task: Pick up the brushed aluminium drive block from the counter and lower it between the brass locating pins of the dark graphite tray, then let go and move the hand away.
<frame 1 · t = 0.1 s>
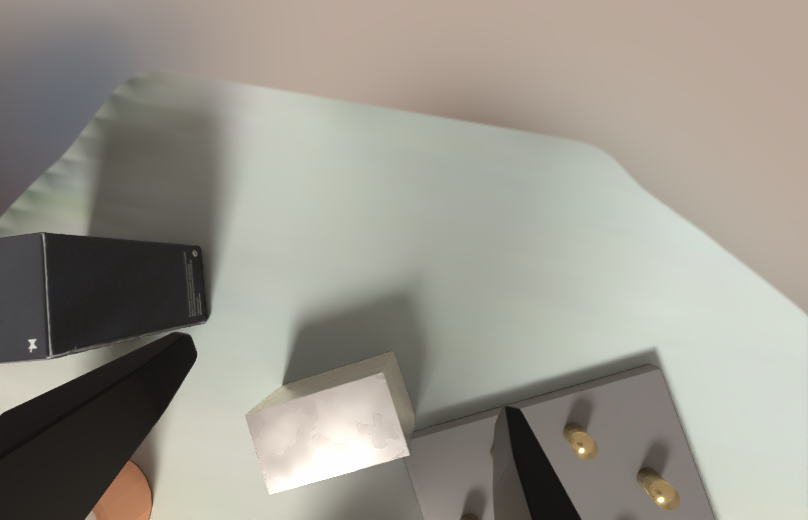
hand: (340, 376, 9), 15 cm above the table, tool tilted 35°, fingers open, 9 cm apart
pepper shaker: (112, 496, 26), on the table
pin tray: (551, 491, 23), on the table
drive block: (347, 399, 25), on the table
small box: (147, 288, 26), on the table
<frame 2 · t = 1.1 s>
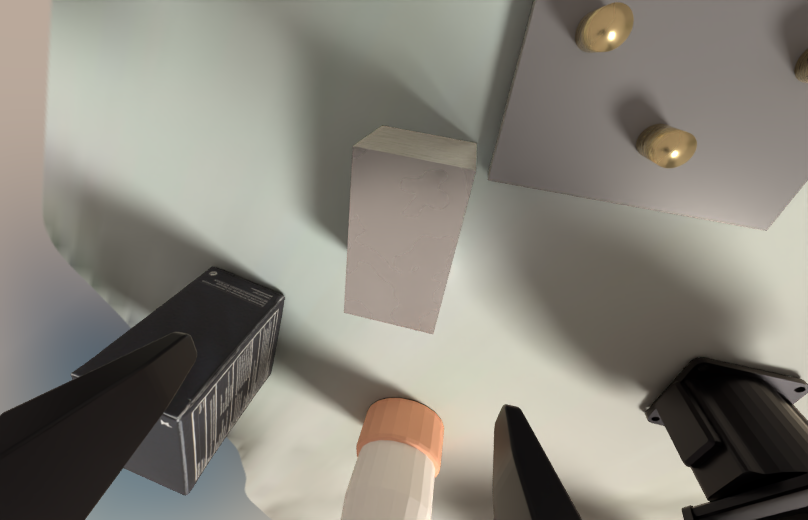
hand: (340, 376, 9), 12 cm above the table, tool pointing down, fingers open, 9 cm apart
pepper shaker: (405, 420, 31), on the table
drive block: (415, 211, 20), on the table
small box: (245, 321, 28), on the table
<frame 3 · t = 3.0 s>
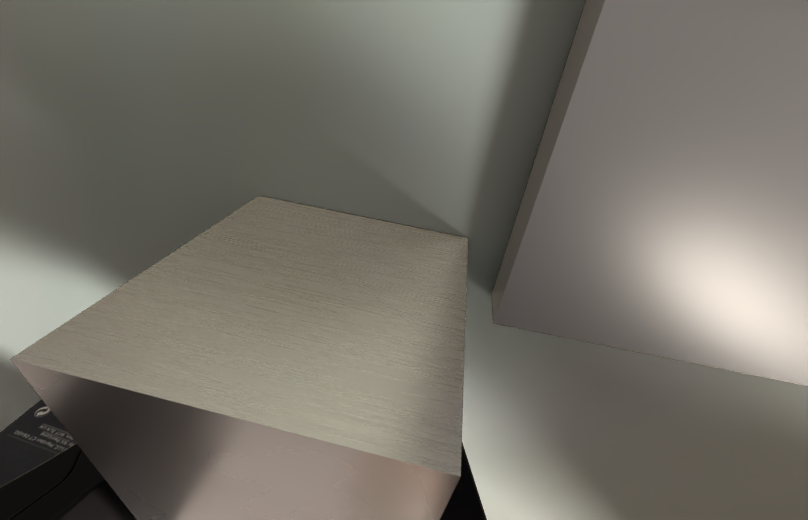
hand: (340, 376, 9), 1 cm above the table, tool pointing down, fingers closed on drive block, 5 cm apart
drive block: (351, 348, 10), on the table, touching gripper
small box: (127, 455, 19), on the table
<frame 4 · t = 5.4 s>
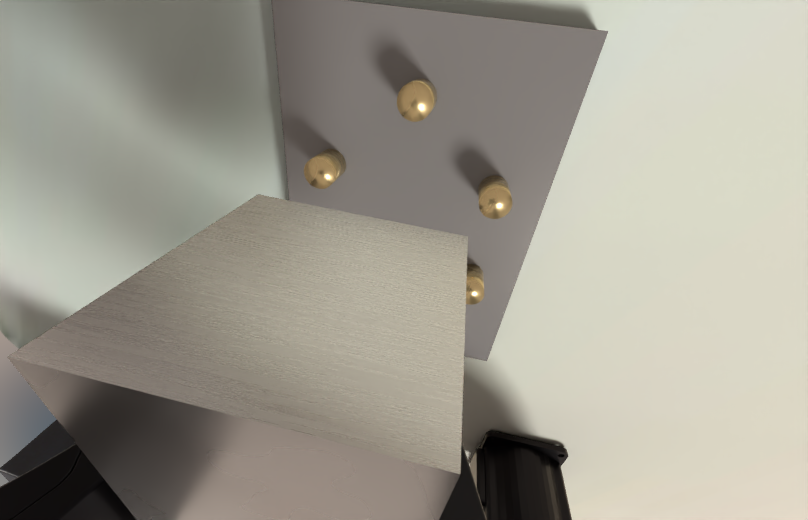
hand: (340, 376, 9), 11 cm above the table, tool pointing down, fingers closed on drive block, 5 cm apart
pin tray: (408, 214, 18), on the table
drive block: (351, 348, 10), point 10 cm above the table, touching gripper
small box: (164, 393, 34), on the table
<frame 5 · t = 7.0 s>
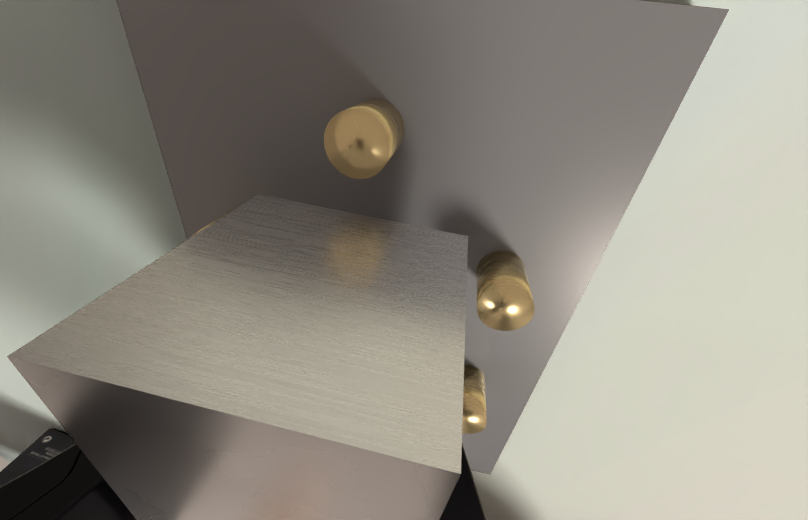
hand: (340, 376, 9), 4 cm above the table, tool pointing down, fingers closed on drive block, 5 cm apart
pin tray: (374, 290, 12), on the table
drive block: (351, 347, 10), point 3 cm above the table, touching gripper
small box: (101, 464, 28), on the table
when the fingers open (4 cm above the table, at t = 8.1 s): drive block drops 2 cm, resting on pin tray.
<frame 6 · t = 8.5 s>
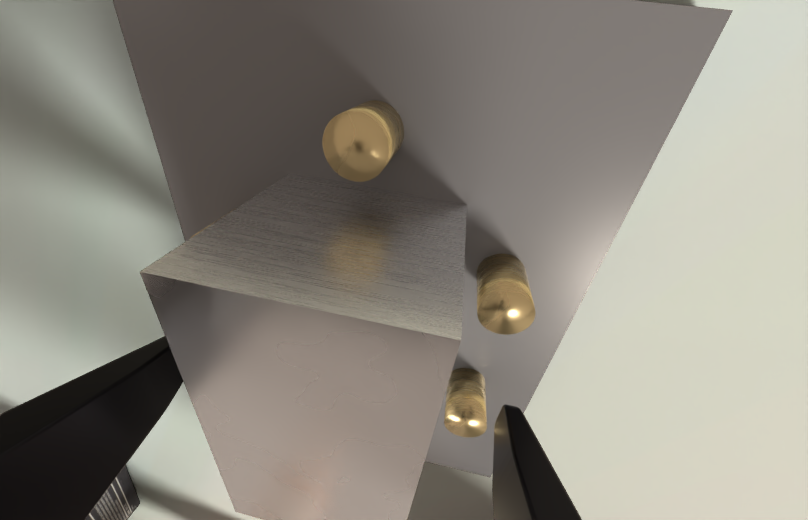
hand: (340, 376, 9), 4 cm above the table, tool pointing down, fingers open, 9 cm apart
pin tray: (374, 293, 12), on the table
drive block: (367, 310, 11), point 1 cm above the table, touching pin tray
small box: (100, 465, 28), on the table
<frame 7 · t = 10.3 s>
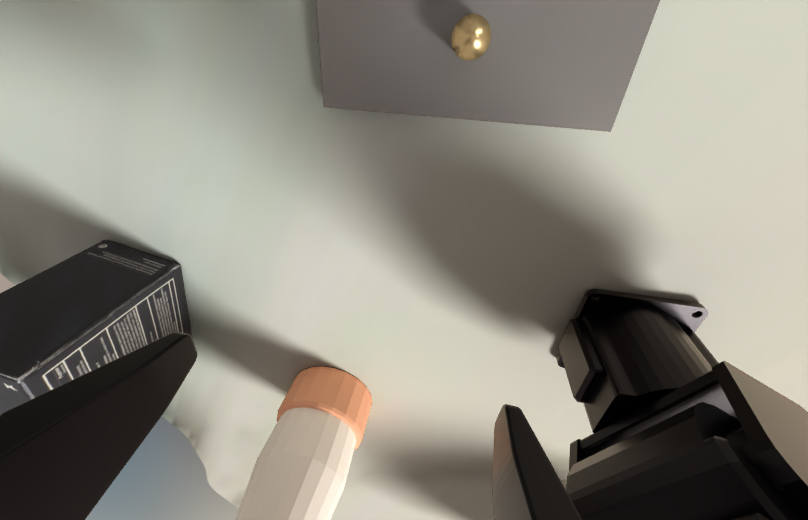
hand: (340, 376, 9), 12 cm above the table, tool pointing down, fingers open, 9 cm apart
pepper shaker: (333, 391, 30), on the table
small box: (154, 298, 27), on the table
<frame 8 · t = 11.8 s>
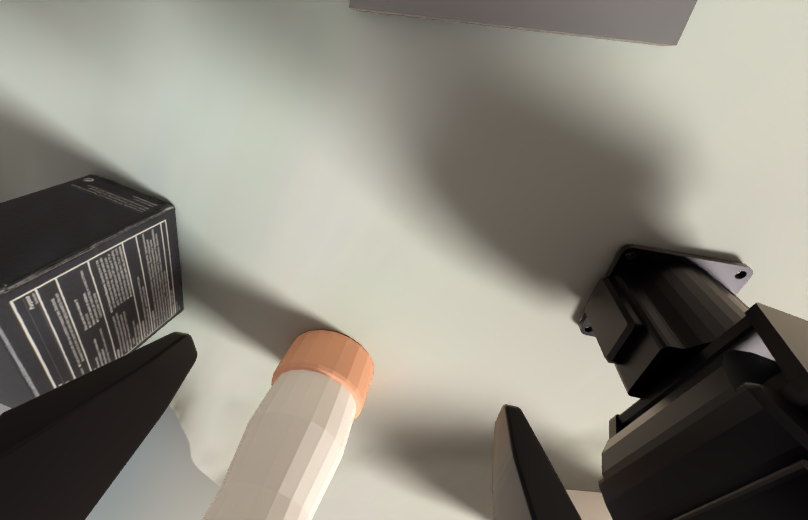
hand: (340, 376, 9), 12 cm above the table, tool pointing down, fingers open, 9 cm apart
pepper shaker: (333, 359, 28), on the table
milk: (572, 515, 34), on the table
small box: (144, 247, 25), on the table
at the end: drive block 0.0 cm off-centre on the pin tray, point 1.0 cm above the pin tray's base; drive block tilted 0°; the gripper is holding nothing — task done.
